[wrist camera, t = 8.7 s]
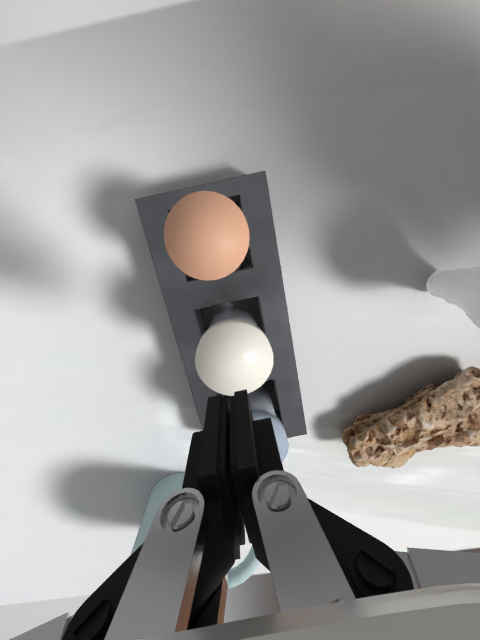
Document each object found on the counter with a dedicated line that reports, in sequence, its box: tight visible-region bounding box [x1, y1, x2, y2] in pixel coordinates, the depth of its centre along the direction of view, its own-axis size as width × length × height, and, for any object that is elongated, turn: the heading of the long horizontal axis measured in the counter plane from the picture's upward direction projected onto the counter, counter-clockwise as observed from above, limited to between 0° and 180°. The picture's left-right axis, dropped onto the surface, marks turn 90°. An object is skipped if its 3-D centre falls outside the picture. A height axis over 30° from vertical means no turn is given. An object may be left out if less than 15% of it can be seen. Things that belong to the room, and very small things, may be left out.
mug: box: [131, 472, 259, 588], centre depth 26 cm, size 14×9×10 cm
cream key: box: [195, 308, 273, 396], centre depth 20 cm, size 5×5×6 cm
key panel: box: [135, 171, 307, 438], centre depth 24 cm, size 10×24×3 cm, turn 12°
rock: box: [341, 366, 480, 468], centre depth 27 cm, size 17×5×10 cm
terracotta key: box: [164, 191, 249, 280], centre depth 18 cm, size 5×5×6 cm
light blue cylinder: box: [228, 385, 289, 462], centre depth 23 cm, size 5×5×6 cm
